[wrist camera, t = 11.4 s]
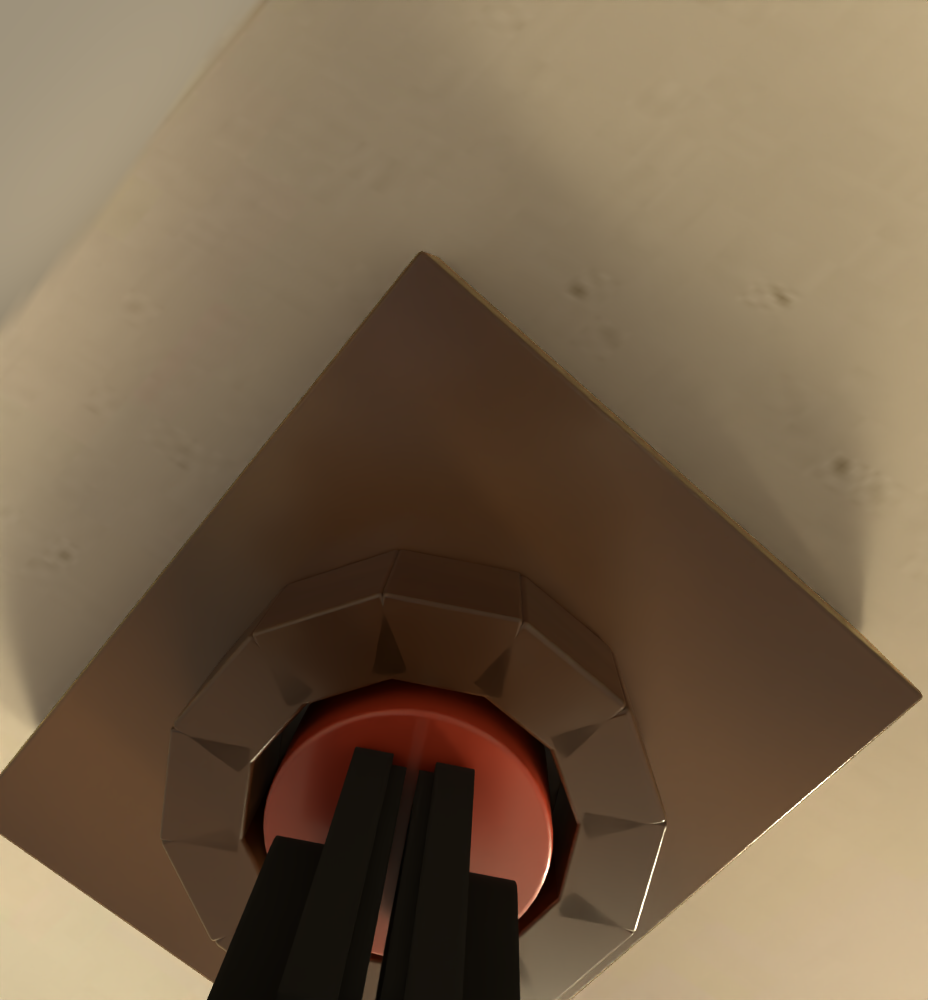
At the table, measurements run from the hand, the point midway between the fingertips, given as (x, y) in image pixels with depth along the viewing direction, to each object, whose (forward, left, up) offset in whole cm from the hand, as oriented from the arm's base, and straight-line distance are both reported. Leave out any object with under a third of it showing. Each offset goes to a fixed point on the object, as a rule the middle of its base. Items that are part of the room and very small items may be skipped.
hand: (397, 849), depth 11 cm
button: (0, 0, -2) cm, 2 cm away
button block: (0, 0, -4) cm, 4 cm away
